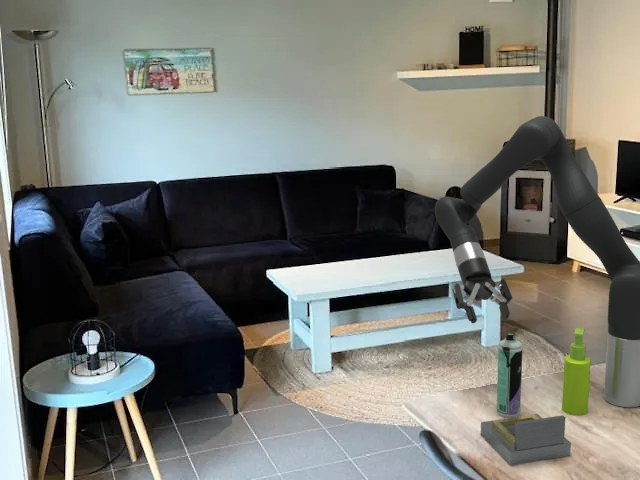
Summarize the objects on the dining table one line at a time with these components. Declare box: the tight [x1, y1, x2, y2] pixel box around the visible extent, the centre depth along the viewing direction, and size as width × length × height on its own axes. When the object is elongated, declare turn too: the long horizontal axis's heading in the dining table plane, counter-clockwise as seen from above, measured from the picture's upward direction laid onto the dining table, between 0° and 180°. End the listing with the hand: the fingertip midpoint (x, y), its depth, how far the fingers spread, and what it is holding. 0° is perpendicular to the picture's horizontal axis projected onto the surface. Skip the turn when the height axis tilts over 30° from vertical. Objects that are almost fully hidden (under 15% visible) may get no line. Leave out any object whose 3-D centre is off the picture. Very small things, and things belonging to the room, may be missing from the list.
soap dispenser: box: [561, 326, 592, 416], centre depth 180 cm, size 6×7×20 cm
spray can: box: [496, 332, 523, 418], centre depth 179 cm, size 6×6×20 cm
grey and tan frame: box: [480, 413, 572, 466], centre depth 165 cm, size 14×14×9 cm
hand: (490, 320), depth 187 cm, fingers open, 8 cm apart
